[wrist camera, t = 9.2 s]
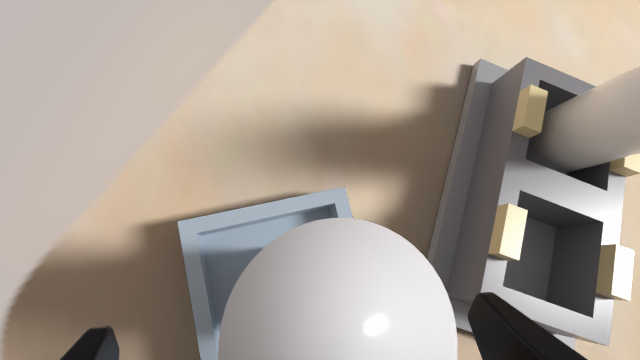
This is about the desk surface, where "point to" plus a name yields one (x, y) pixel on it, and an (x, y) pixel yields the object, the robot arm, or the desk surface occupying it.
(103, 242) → the desk surface
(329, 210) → the tray
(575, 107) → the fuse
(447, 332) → the white round-topped piece
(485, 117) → the block
